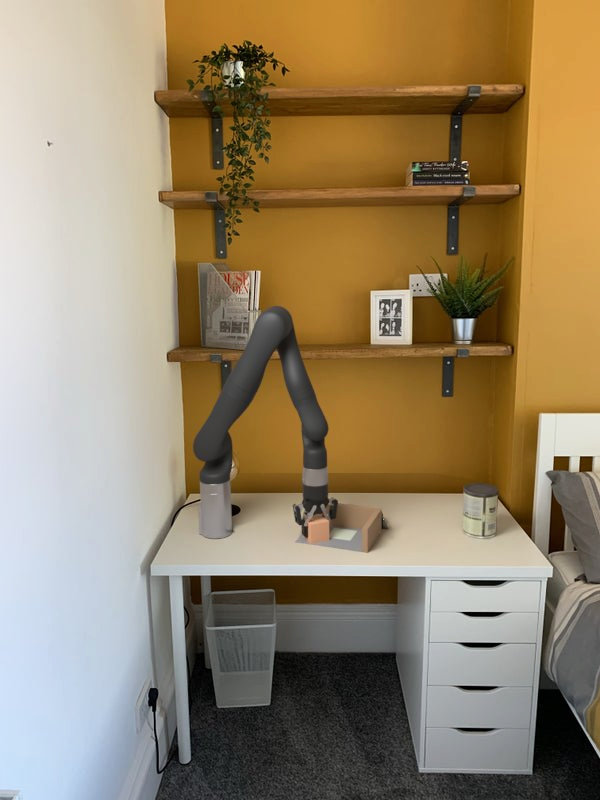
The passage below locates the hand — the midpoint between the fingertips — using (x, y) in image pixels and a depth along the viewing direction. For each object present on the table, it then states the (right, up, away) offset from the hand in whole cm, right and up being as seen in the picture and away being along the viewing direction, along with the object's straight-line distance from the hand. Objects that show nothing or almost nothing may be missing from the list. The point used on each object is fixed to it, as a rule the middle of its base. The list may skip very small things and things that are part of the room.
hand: (315, 534), depth 185 cm
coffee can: (+50, -1, +6) cm, 51 cm away
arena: (+7, -2, +2) cm, 7 cm away
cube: (0, -1, 0) cm, 1 cm away
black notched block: (+20, 0, +13) cm, 24 cm away
